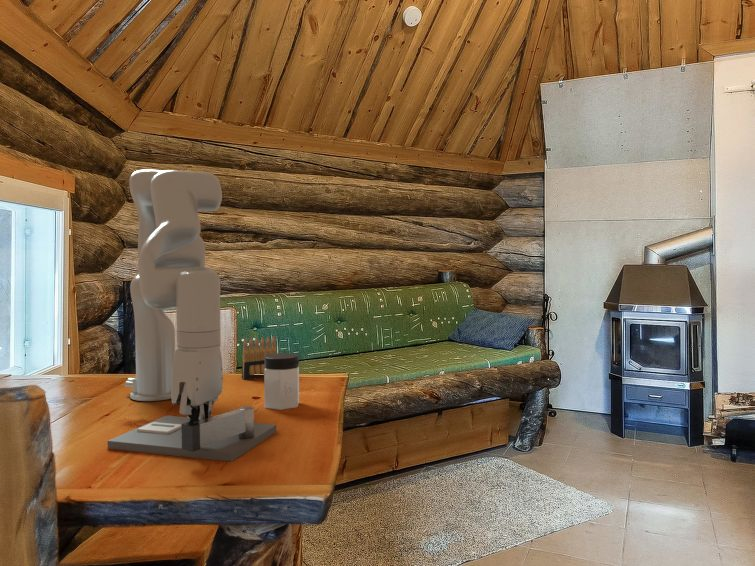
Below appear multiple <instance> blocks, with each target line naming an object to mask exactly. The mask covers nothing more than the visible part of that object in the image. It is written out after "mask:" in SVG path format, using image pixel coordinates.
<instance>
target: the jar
mask: <svg viewBox="0 0 755 566" xmlns="http://www.w3.org/2000/svg"><path fill="white" fill-rule="evenodd" d="M264 359H265V369H264V378H263V379H264V381H263V382H264V385H263V386H264V387H263V391H264V400H263V401H264V408H265V409H270V410H271V409H272V410H277V411H278V410H279V411H281V410H283V411H284V410H288V409H295V408H298V407H299V404H300V364H299V363H300V358H299V354H297V353H291V352H290V353H289V352H281V353H280V352H278V353H276V354H269V355H266V354H265V357H264Z"/></svg>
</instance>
